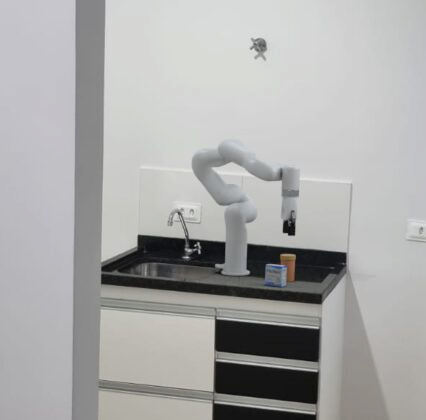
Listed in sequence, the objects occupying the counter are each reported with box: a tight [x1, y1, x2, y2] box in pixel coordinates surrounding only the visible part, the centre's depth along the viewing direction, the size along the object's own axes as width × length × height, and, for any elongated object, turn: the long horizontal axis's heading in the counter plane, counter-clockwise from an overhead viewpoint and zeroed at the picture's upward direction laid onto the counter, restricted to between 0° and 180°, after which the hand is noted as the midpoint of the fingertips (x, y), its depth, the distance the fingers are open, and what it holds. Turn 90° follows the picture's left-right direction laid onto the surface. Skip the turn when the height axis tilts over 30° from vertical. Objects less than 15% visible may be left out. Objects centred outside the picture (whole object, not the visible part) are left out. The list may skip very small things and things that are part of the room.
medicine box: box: [264, 263, 287, 288], centre depth 358 cm, size 8×4×9 cm, turn 66°
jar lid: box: [279, 253, 297, 261], centre depth 371 cm, size 7×7×2 cm
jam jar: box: [280, 259, 296, 283], centre depth 371 cm, size 6×6×10 cm
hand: (288, 234), depth 370 cm, fingers open, 8 cm apart
